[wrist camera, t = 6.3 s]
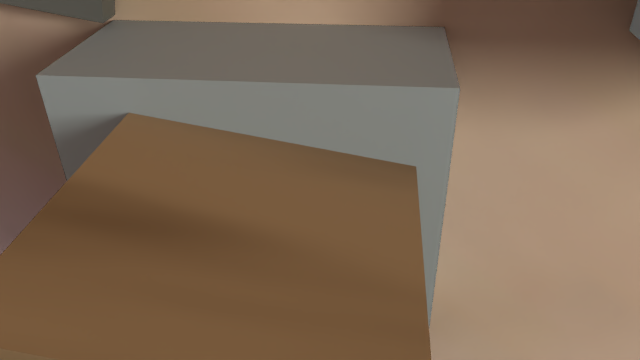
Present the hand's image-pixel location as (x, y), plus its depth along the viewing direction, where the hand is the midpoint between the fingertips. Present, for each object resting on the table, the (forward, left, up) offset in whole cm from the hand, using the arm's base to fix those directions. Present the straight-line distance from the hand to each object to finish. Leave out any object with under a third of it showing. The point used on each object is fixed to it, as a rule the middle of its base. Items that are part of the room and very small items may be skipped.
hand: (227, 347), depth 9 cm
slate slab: (0, 0, -6) cm, 6 cm away
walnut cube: (0, 0, -2) cm, 2 cm away
